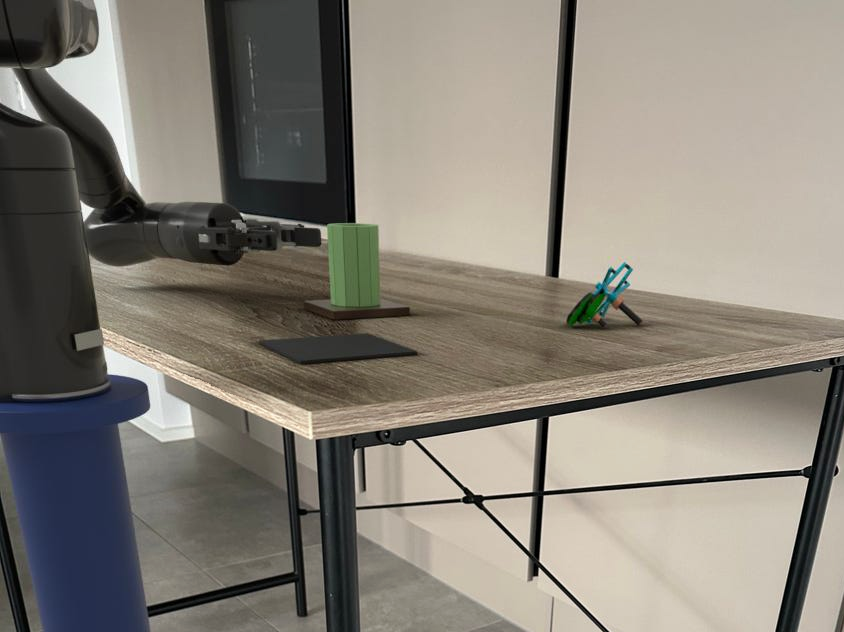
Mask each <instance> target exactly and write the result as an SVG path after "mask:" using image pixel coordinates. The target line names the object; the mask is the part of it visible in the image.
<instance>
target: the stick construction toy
mask: <svg viewBox="0 0 844 632" xmlns="http://www.w3.org/2000/svg"><path fill="white" fill-rule="evenodd" d="M608 267H609V268H608V270H607V272H606V273H605V276H604V278H603V280H602V282H600V281H598V282H597V283H596V284H595V286H594V288H595V289H596V290H595V291H594V292H592V291H590V292H587V293H586V294H585V295H584V296H583V297H582V298H581V299H580V300H579V301H578V302H577V303H576V304H575V306H574V307H573V308H572V310H571V311H570V312H569V313H568V315H567V317H566V319H565V320H566V321H565V323H566V325H568V326H569V327H572V326H573V325H575V324H576V323H578V324H579V325H582V324H584V323H585V322H586V323H587V324H588V325H590V324H592V322H594V323H595V324H596V325H600V326H601V327H602V328H605V327H606V326H607V321H606V320H604V319H603V318H605V317H606V315H607V313H608V311H609V309H610V307H612V308H613V309H614V310H616V311H617V310H620V311H621V312H622V313H623V314H625V315H626V316H627V317H628V318H629V319H630V320H631V321H632V322H633V323H635V324H636V325H637V326H640V325H641V324H642V323H643V319H642V318H641V317H640V316H638V315H637V314H636V313H635V312H634V311H633V310H632V309H631V308H629V307H628V305H626V304H625V300H624V298H623V297H622V296H620V294H621V293H623V292H624V291H626V289H628V288H629V287H630V286H631V283H630V282H629V281H628V280H627V279H628V278H629V276H630V275H631V274H632V272H633V270H634V268H633V267H631V266H630V265H629V264H627V262H625V261H623V263H622V264H621V265H620V266H619V267H618V268H617V269H616V270H615V269H614V268H613V267H612V266H608ZM624 269H627V270H626V272H625V273H624V275H623V277H622V278H621V279H620V281H619V282H618V283H617V285H616V286H615V288H614V289H613V290H612V291H610V290H609V289H608V287H609V285H610V284H611V283H612V282H613V281H614V280H615V279H616V277H618V276H619V274H620V273H621V272H622V271H623V270H624ZM605 298H606V299H605Z"/></svg>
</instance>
